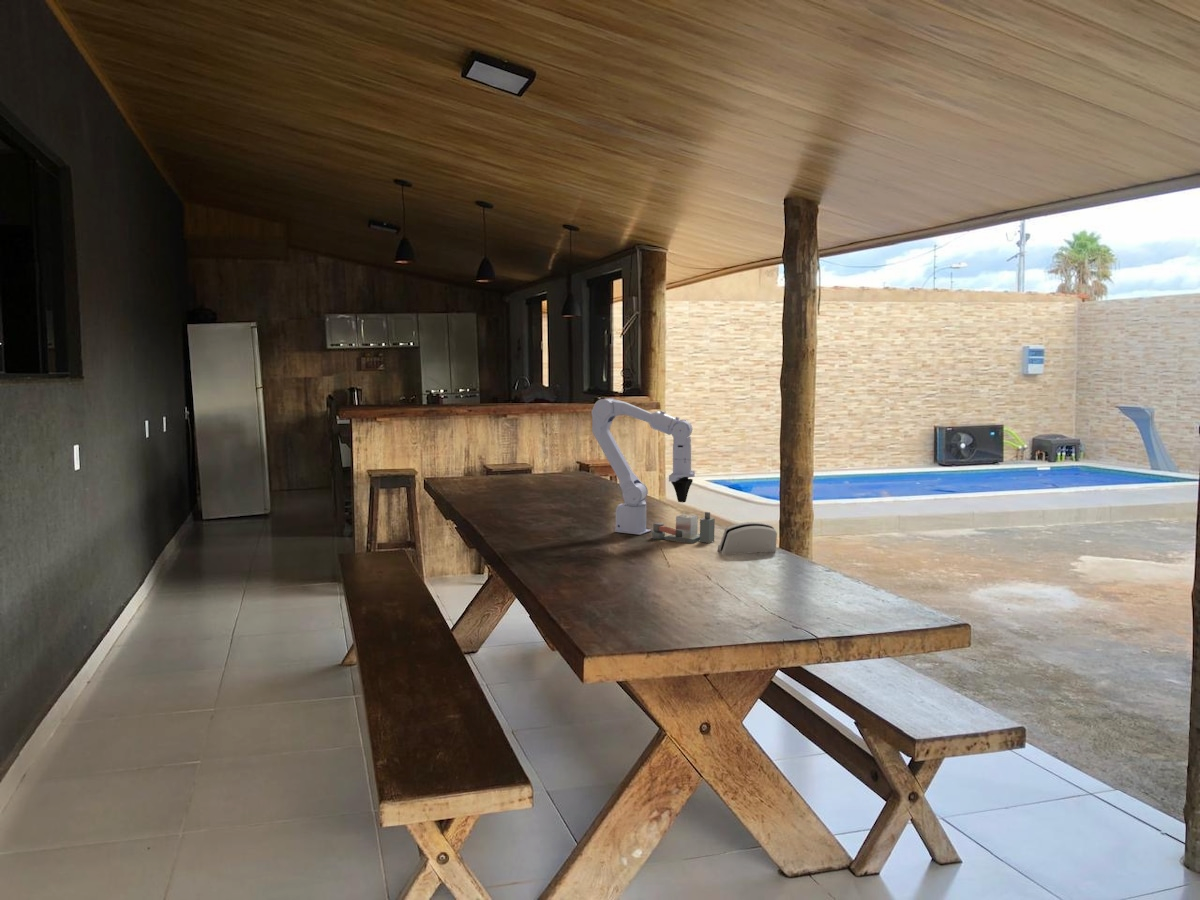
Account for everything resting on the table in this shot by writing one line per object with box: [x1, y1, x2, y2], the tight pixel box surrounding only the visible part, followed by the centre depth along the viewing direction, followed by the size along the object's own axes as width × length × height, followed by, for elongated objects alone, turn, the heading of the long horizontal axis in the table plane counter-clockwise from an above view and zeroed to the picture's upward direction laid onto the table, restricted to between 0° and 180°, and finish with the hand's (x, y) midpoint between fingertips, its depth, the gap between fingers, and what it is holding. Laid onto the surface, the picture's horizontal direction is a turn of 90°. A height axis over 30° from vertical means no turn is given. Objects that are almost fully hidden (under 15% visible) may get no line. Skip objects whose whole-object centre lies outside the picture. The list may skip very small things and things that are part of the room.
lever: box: [652, 522, 682, 537], centre depth 284 cm, size 3×14×2 cm, turn 29°
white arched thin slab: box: [716, 521, 778, 555], centre depth 269 cm, size 17×5×10 cm, turn 106°
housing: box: [675, 513, 699, 538], centre depth 287 cm, size 5×5×6 cm
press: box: [651, 511, 716, 544], centre depth 287 cm, size 18×10×9 cm, turn 59°
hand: (681, 502), depth 294 cm, fingers closed
